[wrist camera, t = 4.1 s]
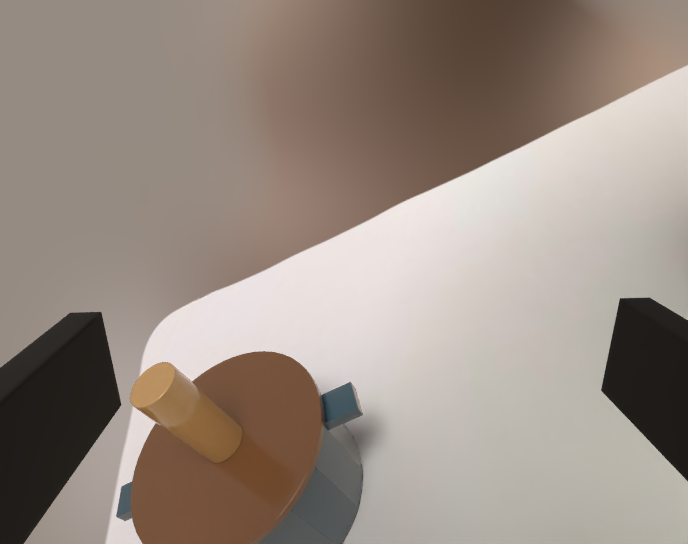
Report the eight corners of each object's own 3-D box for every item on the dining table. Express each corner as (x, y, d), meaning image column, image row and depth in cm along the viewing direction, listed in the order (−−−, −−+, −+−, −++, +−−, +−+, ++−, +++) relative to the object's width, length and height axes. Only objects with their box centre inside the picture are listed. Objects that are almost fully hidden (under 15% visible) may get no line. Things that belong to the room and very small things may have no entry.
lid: (154, 405, 41) (76, 345, 35) (310, 331, 39) (255, 256, 34) (125, 609, 29) (-1, 570, 23) (350, 514, 27) (275, 446, 21)
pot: (185, 457, 45) (127, 416, 40) (367, 374, 44) (331, 320, 38) (174, 635, 34) (90, 611, 29) (418, 533, 32) (377, 487, 27)
